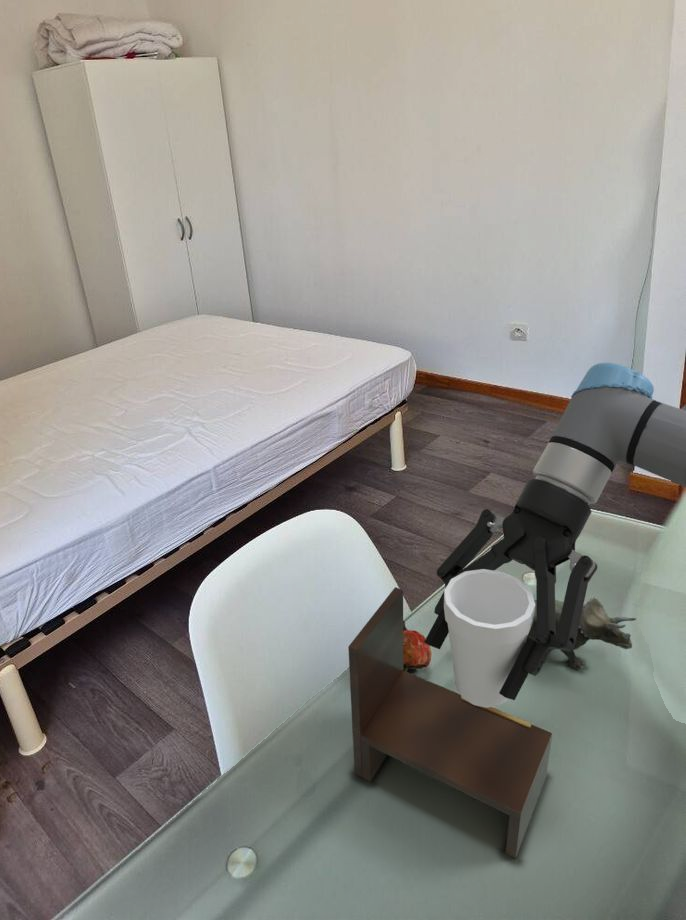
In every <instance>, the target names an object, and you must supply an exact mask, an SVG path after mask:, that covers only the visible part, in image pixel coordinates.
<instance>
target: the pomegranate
mask: <svg viewBox="0 0 686 920" xmlns="http://www.w3.org/2000/svg"><path fill="white" fill-rule="evenodd" d="M426 638H427V637H425V636H424V635H423V634H422V633H420V632H419V631H417V630H414V629H413V630H411V629H410V630H409V629H407V627H406V622H405V620H403V670H404V671H406V672H408V670H421V669H423V668H427V667H429V666H430V663H431V661H432V649H431V646H429V645H428V644H426V643H425V642H424V641H425V639H426Z"/></svg>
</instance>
